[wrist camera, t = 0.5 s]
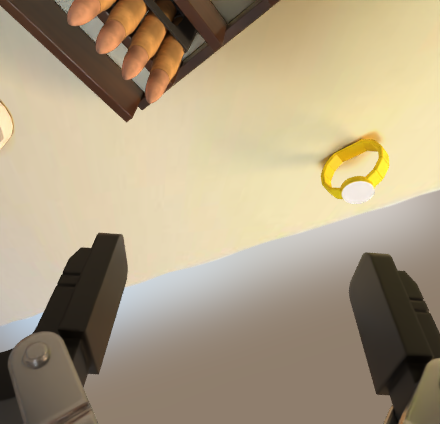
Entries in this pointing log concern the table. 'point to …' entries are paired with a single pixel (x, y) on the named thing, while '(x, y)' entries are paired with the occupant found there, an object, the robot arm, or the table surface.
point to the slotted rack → (102, 65)
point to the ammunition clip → (141, 36)
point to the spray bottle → (5, 126)
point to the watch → (356, 186)
